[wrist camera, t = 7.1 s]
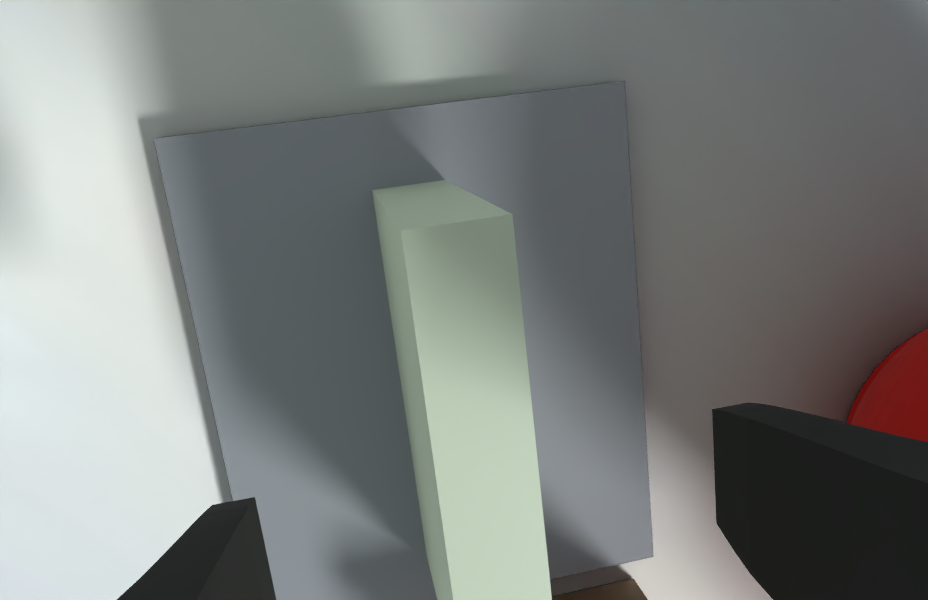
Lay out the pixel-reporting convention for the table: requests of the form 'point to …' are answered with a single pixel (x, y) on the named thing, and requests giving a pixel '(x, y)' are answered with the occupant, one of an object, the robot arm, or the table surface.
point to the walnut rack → (607, 592)
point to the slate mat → (371, 333)
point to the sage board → (465, 389)
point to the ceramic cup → (897, 392)
